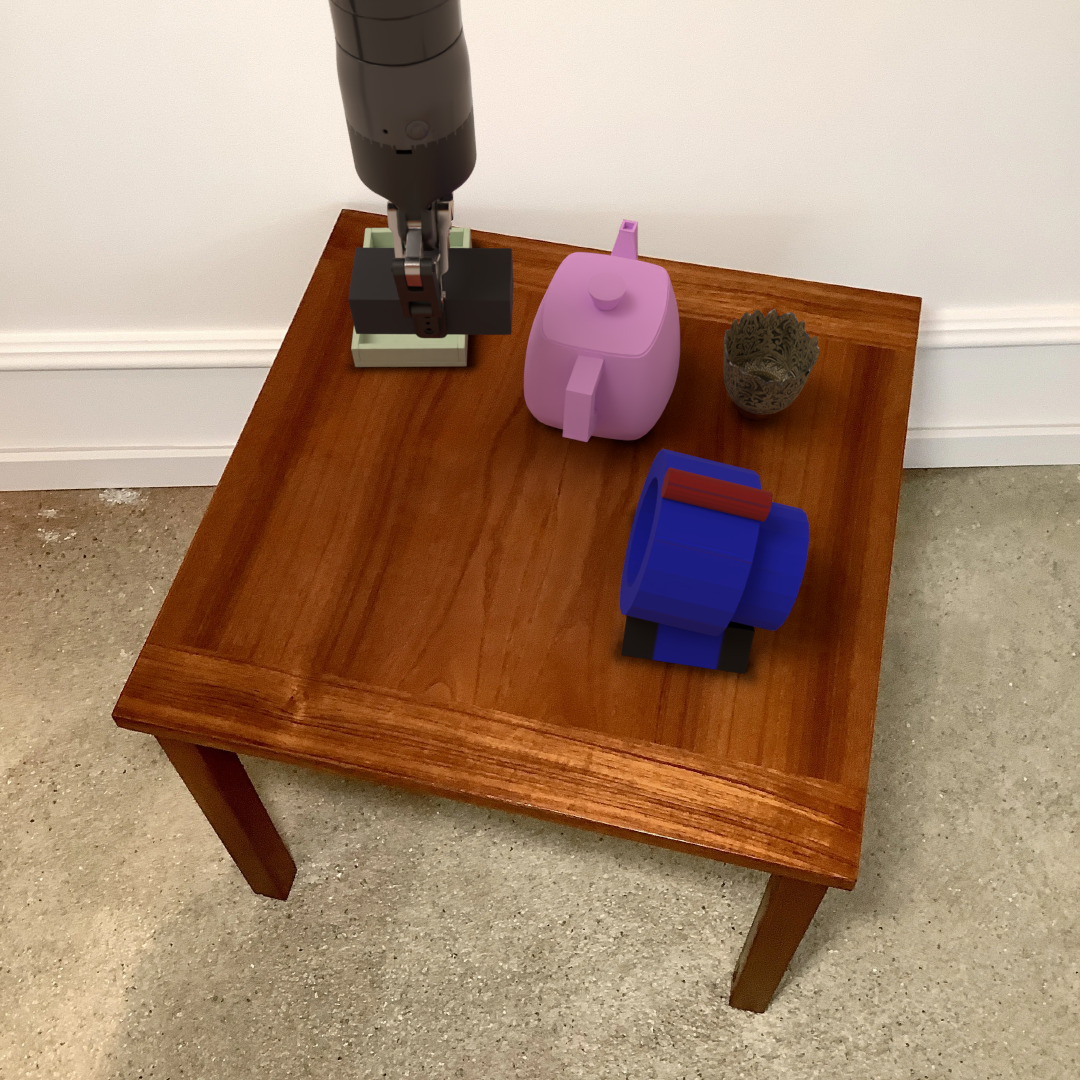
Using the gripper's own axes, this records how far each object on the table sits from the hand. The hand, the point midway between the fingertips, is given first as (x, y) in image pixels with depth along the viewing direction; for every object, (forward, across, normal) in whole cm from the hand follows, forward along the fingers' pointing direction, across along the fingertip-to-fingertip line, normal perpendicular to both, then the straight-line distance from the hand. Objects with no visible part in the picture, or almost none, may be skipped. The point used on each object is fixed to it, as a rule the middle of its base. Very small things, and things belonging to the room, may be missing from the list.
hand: (434, 304), depth 78 cm
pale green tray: (+15, -15, -4) cm, 22 cm away
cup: (+16, -3, +26) cm, 30 cm away
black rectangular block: (0, 0, 0) cm, 0 cm away
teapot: (+16, -5, +12) cm, 21 cm away
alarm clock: (+16, +15, +20) cm, 29 cm away
